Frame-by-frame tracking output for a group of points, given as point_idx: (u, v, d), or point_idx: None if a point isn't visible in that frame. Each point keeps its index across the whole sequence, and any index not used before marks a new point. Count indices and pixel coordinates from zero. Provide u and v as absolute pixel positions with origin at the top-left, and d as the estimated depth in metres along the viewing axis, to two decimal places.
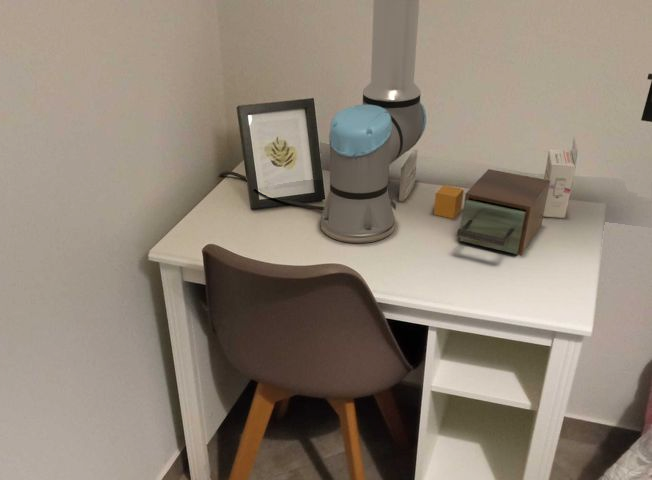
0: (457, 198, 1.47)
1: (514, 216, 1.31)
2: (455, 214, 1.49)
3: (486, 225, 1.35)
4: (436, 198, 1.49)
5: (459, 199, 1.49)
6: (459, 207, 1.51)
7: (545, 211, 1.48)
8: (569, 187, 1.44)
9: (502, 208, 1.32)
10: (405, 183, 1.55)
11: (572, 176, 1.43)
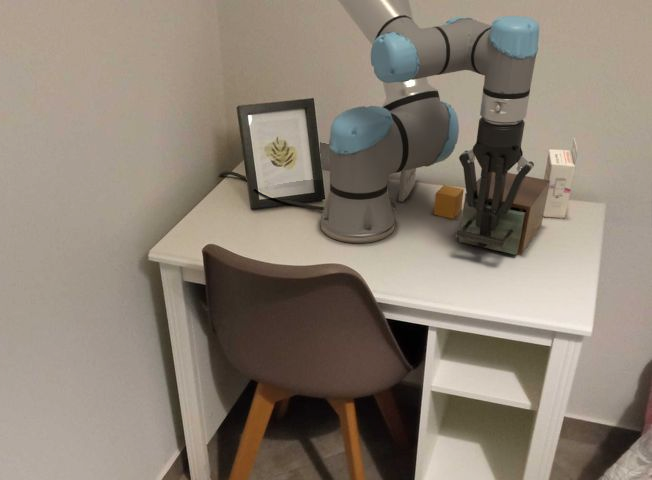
0: (457, 198, 1.47)
1: (514, 217, 1.31)
2: (455, 214, 1.49)
3: None
4: (436, 198, 1.49)
5: (459, 199, 1.49)
6: (459, 207, 1.51)
7: (545, 211, 1.48)
8: (569, 187, 1.44)
9: None
10: (405, 183, 1.55)
11: (572, 176, 1.43)
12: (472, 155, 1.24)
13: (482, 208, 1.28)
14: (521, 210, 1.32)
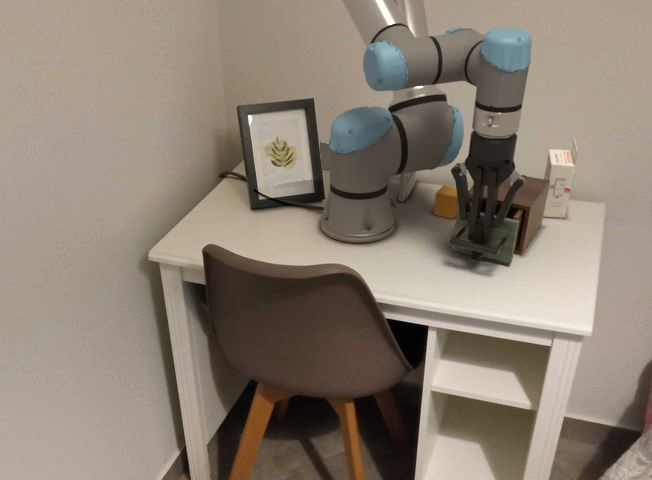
0: (457, 198, 1.47)
1: (508, 224, 1.28)
2: (455, 214, 1.49)
3: None
4: (436, 198, 1.49)
5: None
6: None
7: (545, 211, 1.48)
8: (569, 187, 1.44)
9: (495, 216, 1.29)
10: (405, 183, 1.55)
11: (572, 176, 1.43)
12: (464, 168, 1.23)
13: (474, 221, 1.26)
14: (515, 218, 1.29)
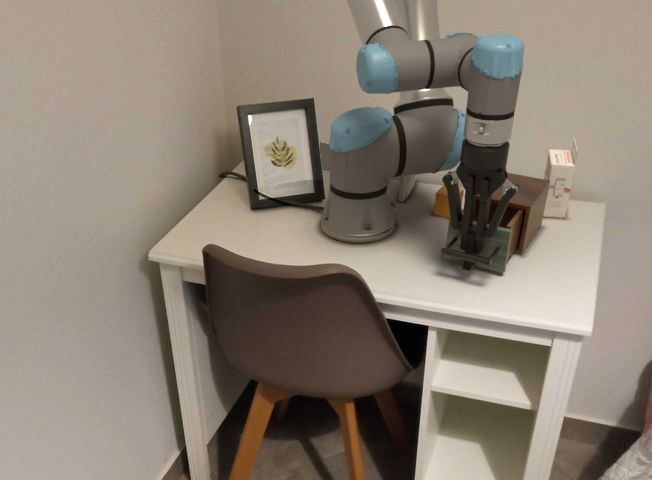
0: None
1: (501, 234, 1.25)
2: None
3: None
4: (436, 198, 1.49)
5: None
6: None
7: (545, 211, 1.48)
8: (569, 187, 1.44)
9: (488, 225, 1.26)
10: (405, 183, 1.55)
11: (572, 176, 1.43)
12: (456, 176, 1.20)
13: (466, 231, 1.24)
14: (508, 227, 1.27)
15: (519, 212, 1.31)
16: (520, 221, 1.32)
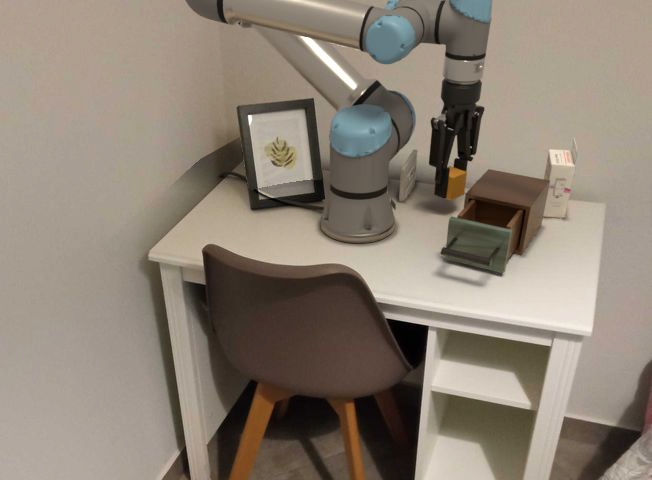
0: (455, 179, 1.44)
1: (500, 234, 1.25)
2: (453, 196, 1.47)
3: (472, 243, 1.29)
4: None
5: (460, 181, 1.46)
6: (460, 190, 1.47)
7: (545, 211, 1.48)
8: (569, 187, 1.44)
9: (488, 226, 1.26)
10: (405, 183, 1.55)
11: (572, 176, 1.43)
12: (445, 119, 1.37)
13: (447, 165, 1.42)
14: (508, 227, 1.27)
15: (519, 212, 1.31)
16: (520, 221, 1.32)
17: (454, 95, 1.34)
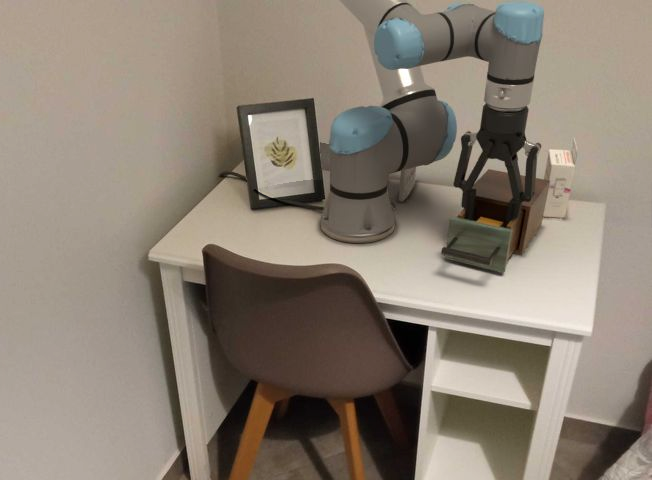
0: None
1: (501, 233, 1.25)
2: None
3: (472, 242, 1.29)
4: None
5: None
6: None
7: (545, 211, 1.48)
8: (569, 187, 1.44)
9: (488, 225, 1.26)
10: (405, 183, 1.55)
11: (572, 176, 1.43)
12: (475, 139, 1.24)
13: (468, 189, 1.29)
14: (508, 227, 1.27)
15: None
16: (520, 221, 1.32)
17: None
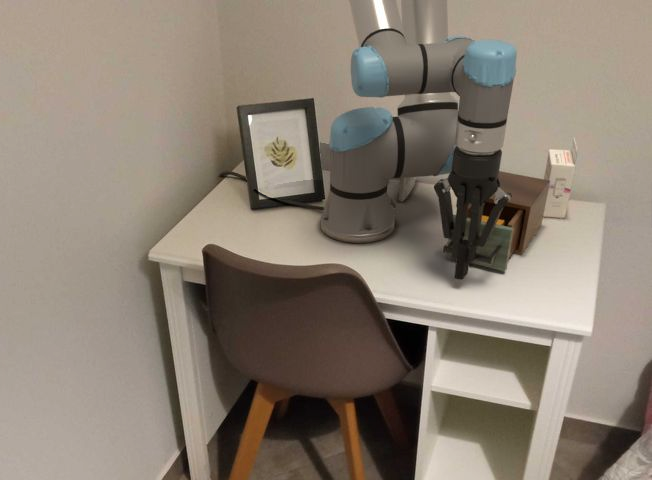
0: None
1: (502, 232, 1.26)
2: None
3: None
4: None
5: None
6: None
7: (545, 211, 1.48)
8: (569, 187, 1.44)
9: None
10: (405, 183, 1.55)
11: (572, 176, 1.43)
12: (448, 184, 1.17)
13: (458, 240, 1.21)
14: (510, 225, 1.27)
15: (520, 210, 1.31)
16: (521, 219, 1.33)
17: None
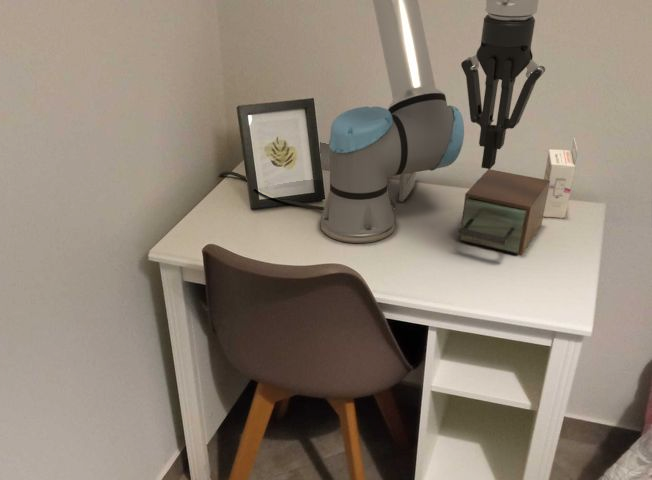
0: None
1: (515, 215, 1.31)
2: None
3: (487, 224, 1.35)
4: None
5: None
6: None
7: (545, 211, 1.48)
8: (569, 187, 1.44)
9: (503, 207, 1.32)
10: (405, 183, 1.55)
11: (572, 176, 1.43)
12: (476, 60, 1.11)
13: (486, 123, 1.15)
14: None
15: None
16: None
17: None
